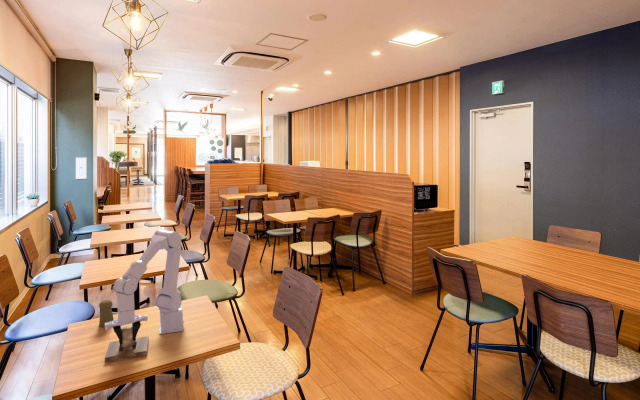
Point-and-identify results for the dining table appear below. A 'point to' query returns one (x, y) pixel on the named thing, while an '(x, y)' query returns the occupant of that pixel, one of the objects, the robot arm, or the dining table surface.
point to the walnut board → (116, 354)
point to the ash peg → (127, 337)
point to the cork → (105, 312)
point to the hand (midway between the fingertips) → (127, 342)
